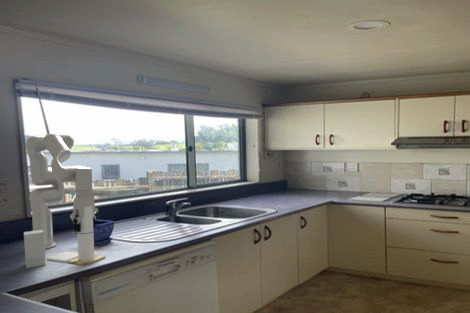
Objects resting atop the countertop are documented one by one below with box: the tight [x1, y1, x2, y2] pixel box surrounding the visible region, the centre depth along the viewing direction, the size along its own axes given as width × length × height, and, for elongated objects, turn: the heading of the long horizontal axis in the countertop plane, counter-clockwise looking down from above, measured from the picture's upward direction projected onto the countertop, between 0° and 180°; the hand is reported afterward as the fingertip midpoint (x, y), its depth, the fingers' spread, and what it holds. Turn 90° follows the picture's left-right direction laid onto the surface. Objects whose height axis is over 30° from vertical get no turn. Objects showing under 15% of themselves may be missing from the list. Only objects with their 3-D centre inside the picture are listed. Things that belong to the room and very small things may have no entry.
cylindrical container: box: [76, 206, 95, 261], centre depth 193 cm, size 7×7×25 cm
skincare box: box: [23, 230, 47, 269], centre depth 188 cm, size 8×7×16 cm
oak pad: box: [66, 254, 106, 266], centre depth 194 cm, size 12×12×1 cm
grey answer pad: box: [46, 251, 78, 263], centre depth 199 cm, size 12×12×1 cm
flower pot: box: [93, 219, 115, 247], centre depth 225 cm, size 13×13×12 cm
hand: (85, 229), depth 193 cm, fingers open, 9 cm apart
